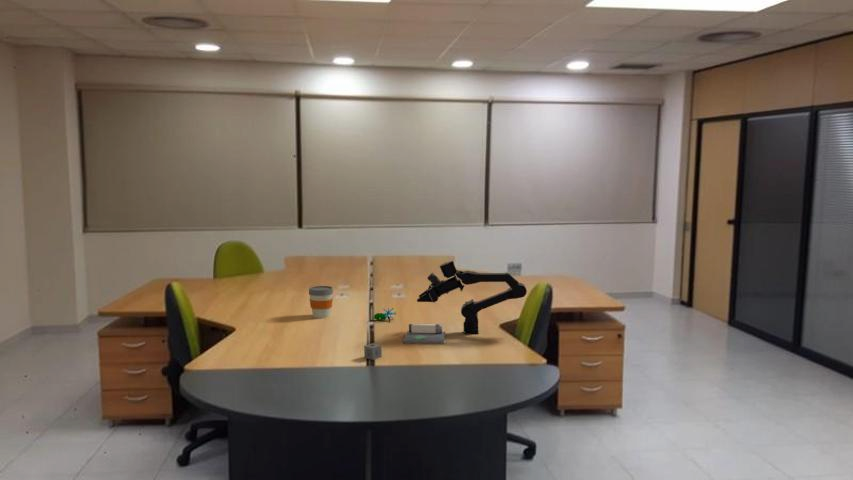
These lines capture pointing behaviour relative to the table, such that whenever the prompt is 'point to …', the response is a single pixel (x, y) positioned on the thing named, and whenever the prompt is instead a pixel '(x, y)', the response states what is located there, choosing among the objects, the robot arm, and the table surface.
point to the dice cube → (372, 351)
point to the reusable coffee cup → (321, 301)
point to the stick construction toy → (384, 315)
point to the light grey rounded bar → (425, 328)
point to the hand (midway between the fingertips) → (418, 298)
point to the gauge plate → (424, 338)
